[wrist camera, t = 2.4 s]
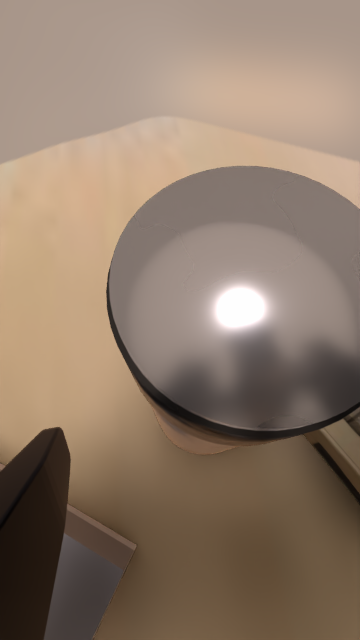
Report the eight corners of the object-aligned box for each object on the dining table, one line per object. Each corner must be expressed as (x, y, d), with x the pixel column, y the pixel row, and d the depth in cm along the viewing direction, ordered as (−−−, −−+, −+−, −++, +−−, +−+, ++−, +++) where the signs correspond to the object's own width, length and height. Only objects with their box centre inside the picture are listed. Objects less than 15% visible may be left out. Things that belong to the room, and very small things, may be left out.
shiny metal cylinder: (268, 380, 18) (440, 221, 6) (229, 477, 16) (368, 508, 4) (180, 339, 19) (187, 130, 7) (134, 426, 17) (39, 339, 5)
